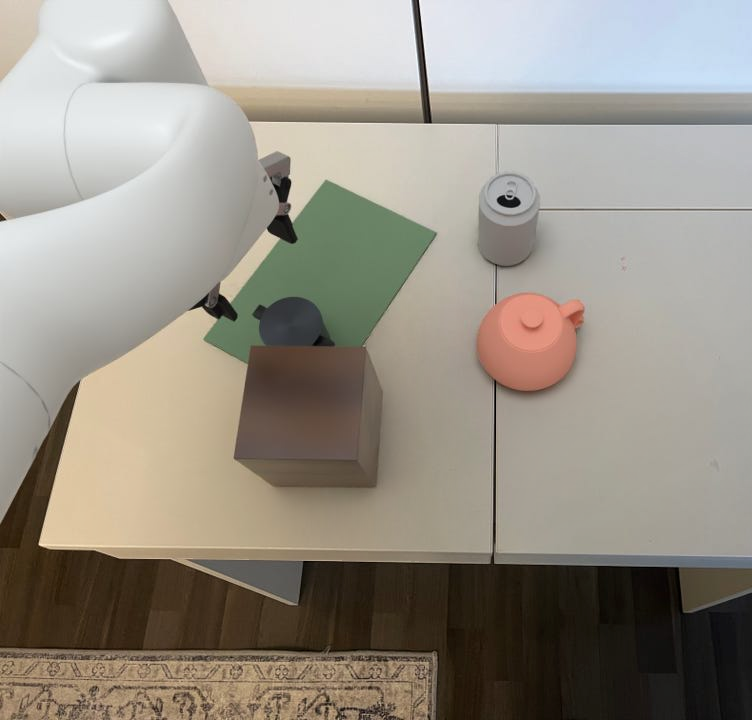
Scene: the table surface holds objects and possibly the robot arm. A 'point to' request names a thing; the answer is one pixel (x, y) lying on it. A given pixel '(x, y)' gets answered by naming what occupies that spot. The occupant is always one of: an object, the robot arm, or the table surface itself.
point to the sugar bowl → (529, 340)
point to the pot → (292, 324)
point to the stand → (310, 417)
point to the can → (507, 218)
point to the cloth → (330, 269)
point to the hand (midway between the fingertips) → (254, 273)
